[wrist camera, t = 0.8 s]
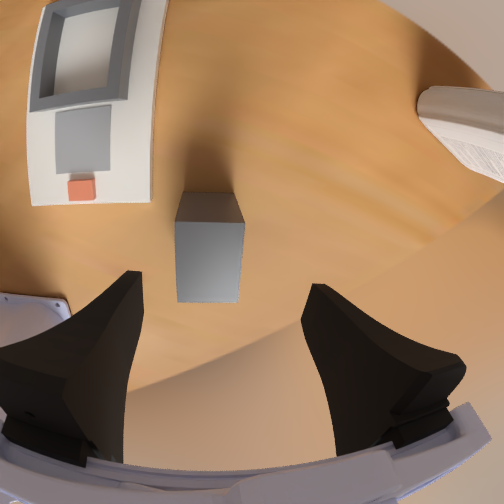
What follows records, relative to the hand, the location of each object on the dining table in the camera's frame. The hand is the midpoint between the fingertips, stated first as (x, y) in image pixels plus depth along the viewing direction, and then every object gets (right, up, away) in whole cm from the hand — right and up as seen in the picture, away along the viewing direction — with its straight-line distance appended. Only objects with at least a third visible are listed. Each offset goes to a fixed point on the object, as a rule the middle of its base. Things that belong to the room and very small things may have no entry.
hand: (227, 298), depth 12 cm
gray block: (-2, +4, +9) cm, 10 cm away
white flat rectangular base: (-10, +13, +3) cm, 17 cm away
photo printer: (+19, +13, +8) cm, 25 cm away
